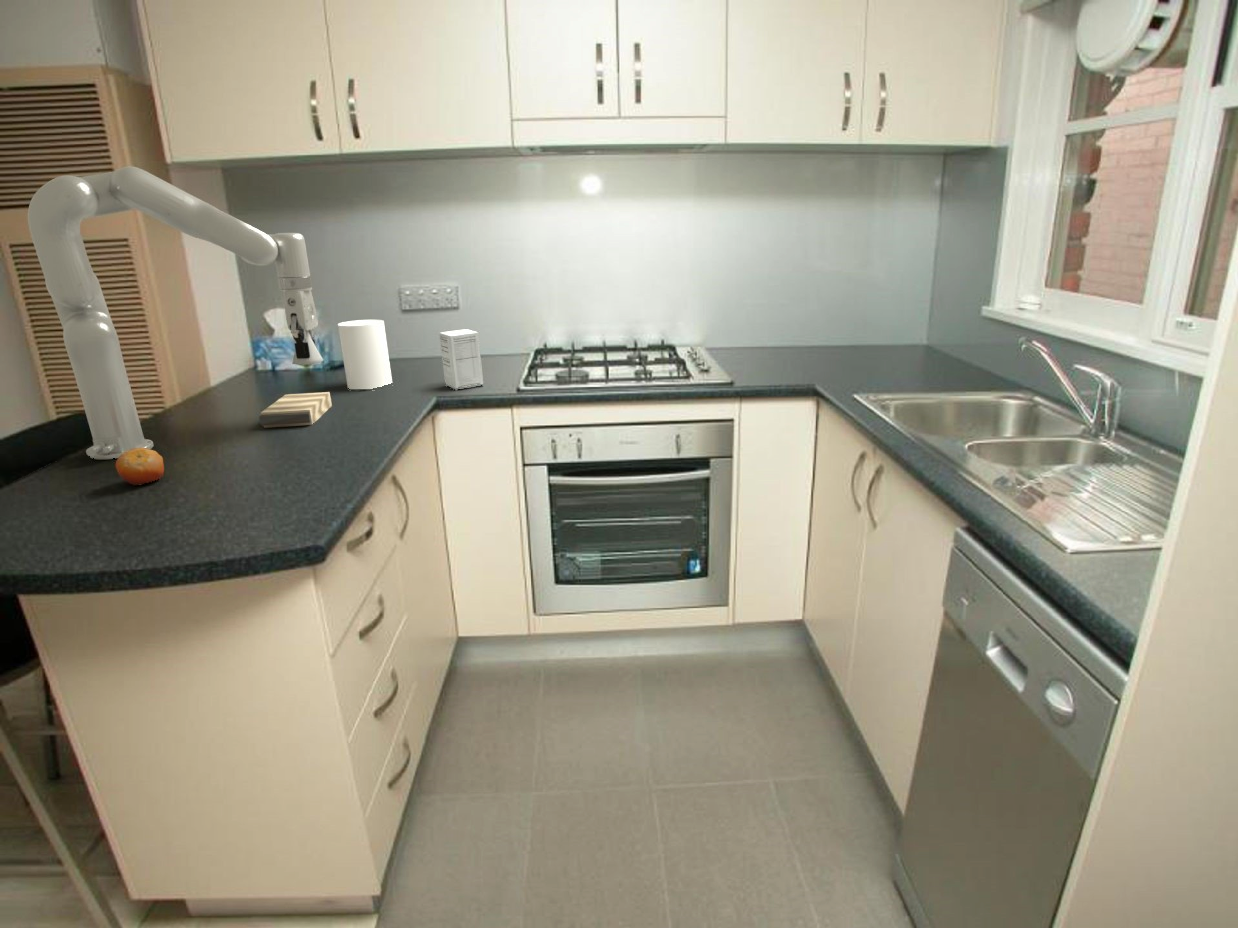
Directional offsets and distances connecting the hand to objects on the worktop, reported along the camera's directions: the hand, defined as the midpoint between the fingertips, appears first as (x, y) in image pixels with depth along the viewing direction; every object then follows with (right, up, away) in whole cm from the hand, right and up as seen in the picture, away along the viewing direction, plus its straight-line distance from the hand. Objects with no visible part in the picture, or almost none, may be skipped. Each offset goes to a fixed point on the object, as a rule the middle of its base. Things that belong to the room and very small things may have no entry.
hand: (306, 355), depth 184 cm
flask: (0, -2, +1) cm, 2 cm away
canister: (+2, -4, +41) cm, 41 cm away
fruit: (-16, -32, -39) cm, 53 cm away
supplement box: (+33, -4, +37) cm, 50 cm away
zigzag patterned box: (-5, -15, +8) cm, 18 cm away
